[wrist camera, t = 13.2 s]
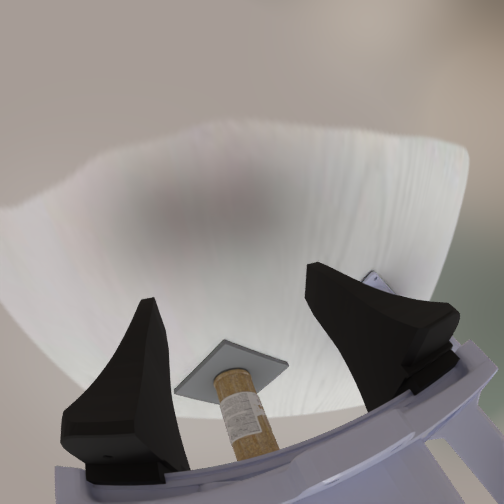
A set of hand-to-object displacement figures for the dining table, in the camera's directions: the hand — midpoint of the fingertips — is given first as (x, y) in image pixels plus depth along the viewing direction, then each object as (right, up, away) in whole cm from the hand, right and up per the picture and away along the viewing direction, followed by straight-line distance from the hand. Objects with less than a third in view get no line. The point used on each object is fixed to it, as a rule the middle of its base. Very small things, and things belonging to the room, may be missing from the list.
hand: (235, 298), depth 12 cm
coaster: (-2, -13, +18) cm, 22 cm away
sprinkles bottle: (-2, -12, +17) cm, 21 cm away
